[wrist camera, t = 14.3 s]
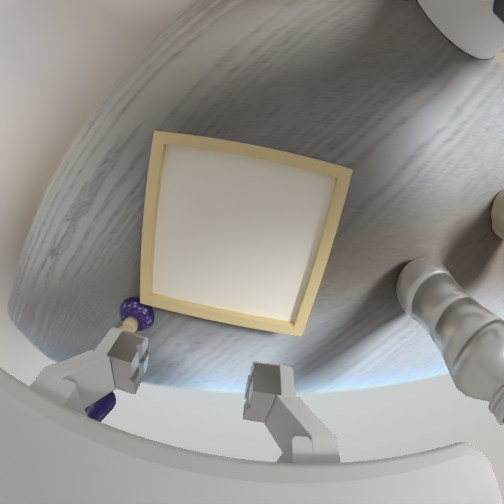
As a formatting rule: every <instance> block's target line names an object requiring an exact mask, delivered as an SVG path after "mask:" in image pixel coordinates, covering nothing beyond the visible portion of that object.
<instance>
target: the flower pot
mask: <svg viewBox="0 0 504 504" xmlns="http://www.w3.org/2000/svg"><path fill="white" fill-rule="evenodd" d="M491 218H492V228H493V231H494V232H495V234H496V235H498V236H499V237H500V238H501V239H503V240H504V191H502V192H500V193H498V195H497V196H496V198H495V200H494V203H493V206H492V210H491Z"/></svg>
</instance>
